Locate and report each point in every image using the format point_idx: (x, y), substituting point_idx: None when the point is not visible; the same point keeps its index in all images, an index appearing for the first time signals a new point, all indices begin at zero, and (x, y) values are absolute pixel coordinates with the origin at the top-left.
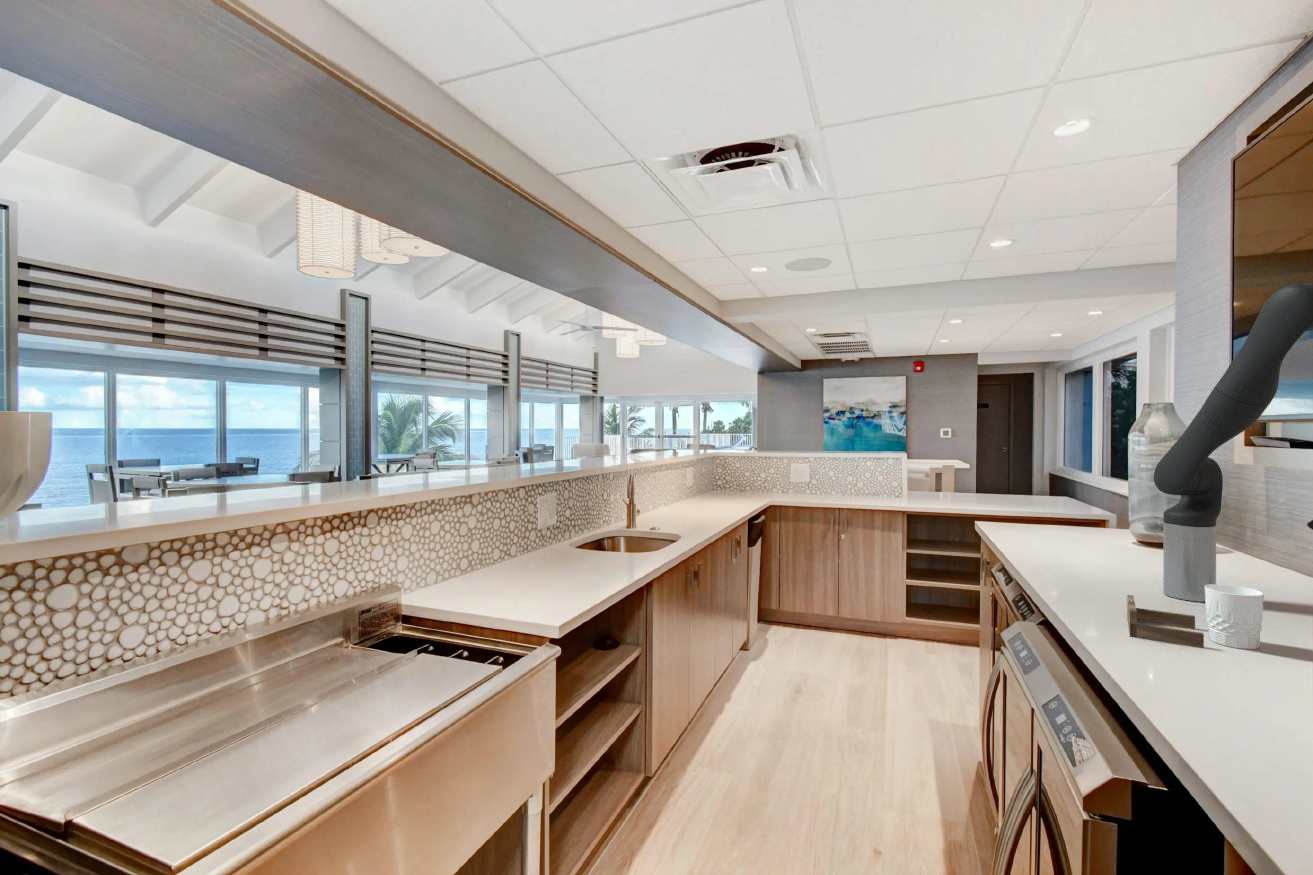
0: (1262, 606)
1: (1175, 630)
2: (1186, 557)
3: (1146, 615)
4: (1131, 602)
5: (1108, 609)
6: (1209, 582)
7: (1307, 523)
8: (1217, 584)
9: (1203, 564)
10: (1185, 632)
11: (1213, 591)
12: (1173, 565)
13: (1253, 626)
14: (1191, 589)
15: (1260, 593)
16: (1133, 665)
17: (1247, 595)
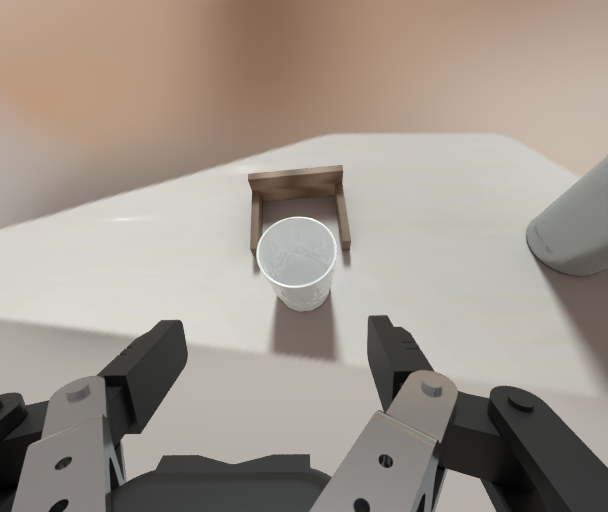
0: (285, 293)
1: (251, 224)
2: (590, 190)
3: (336, 200)
4: (297, 172)
5: (372, 171)
6: (578, 250)
7: (382, 315)
8: (328, 231)
9: (598, 221)
10: (251, 233)
11: (271, 227)
12: (571, 188)
13: (276, 293)
14: (543, 235)
15: (303, 285)
16: (149, 206)
17: (259, 265)
